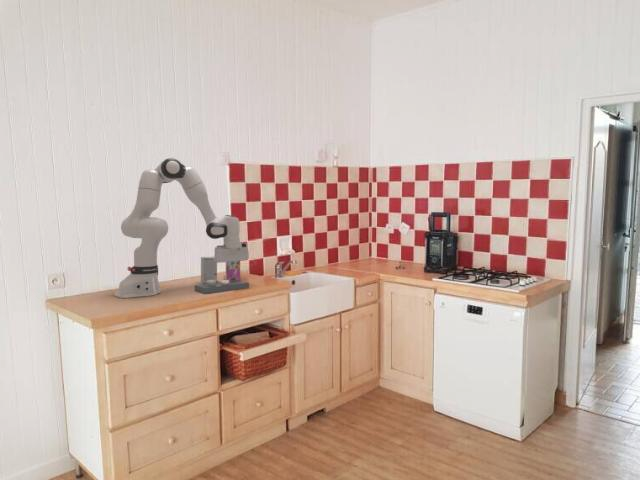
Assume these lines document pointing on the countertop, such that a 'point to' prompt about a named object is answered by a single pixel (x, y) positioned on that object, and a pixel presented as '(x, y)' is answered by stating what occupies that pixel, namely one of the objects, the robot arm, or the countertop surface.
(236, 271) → the lever
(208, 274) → the skincare box
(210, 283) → the grey button
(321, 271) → the countertop surface
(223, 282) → the cream button
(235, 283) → the panel
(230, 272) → the gum box
